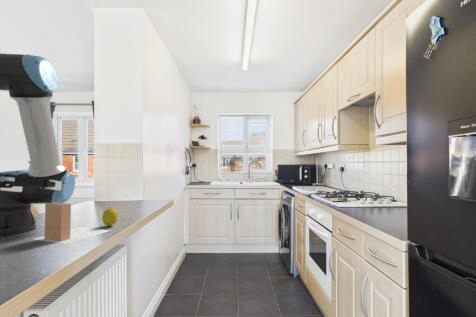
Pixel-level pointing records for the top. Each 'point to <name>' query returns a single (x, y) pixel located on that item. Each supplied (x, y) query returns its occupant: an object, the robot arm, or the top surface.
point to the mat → (76, 235)
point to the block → (57, 221)
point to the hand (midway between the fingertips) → (40, 186)
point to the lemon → (109, 217)
